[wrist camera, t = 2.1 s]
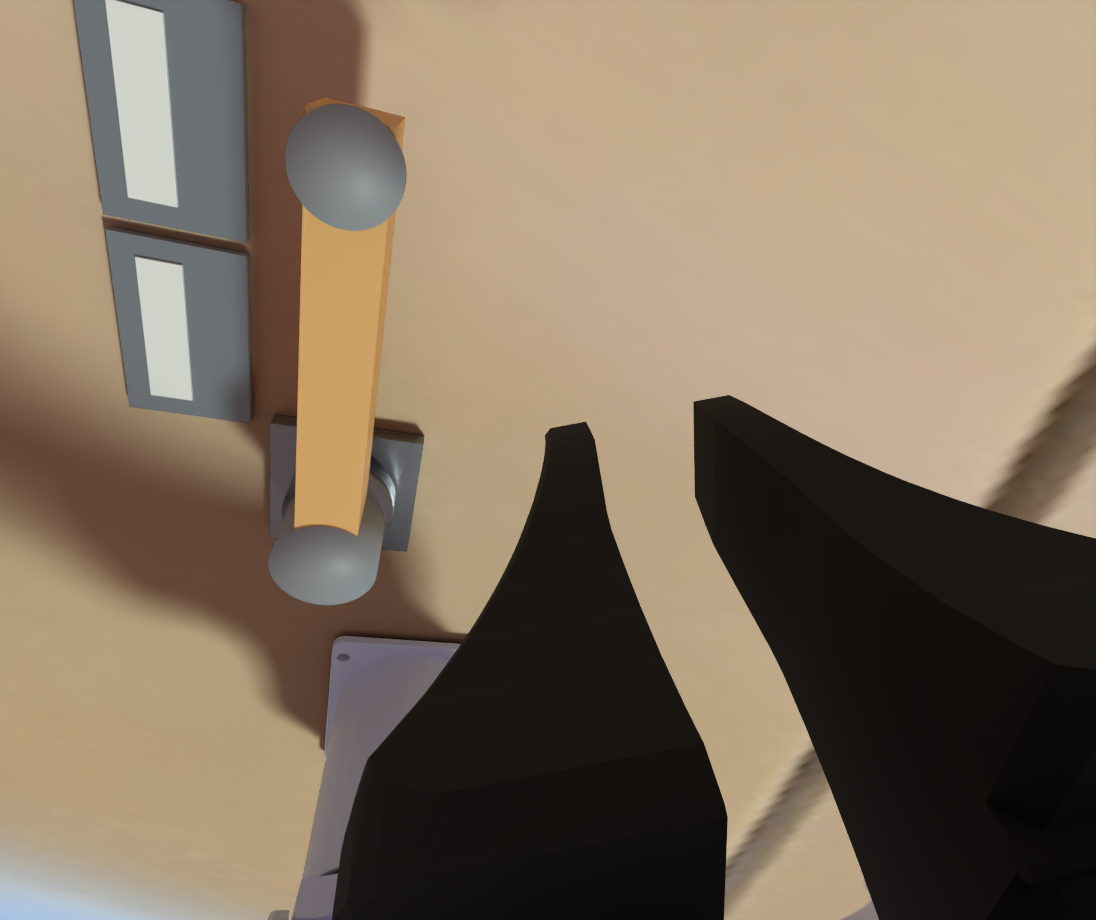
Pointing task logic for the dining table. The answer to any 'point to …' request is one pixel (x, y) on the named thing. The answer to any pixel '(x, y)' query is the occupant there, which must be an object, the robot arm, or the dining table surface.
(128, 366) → the label
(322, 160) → the swing arm
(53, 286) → the dining table surface
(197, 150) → the label
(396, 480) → the square flange plate
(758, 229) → the dining table surface
